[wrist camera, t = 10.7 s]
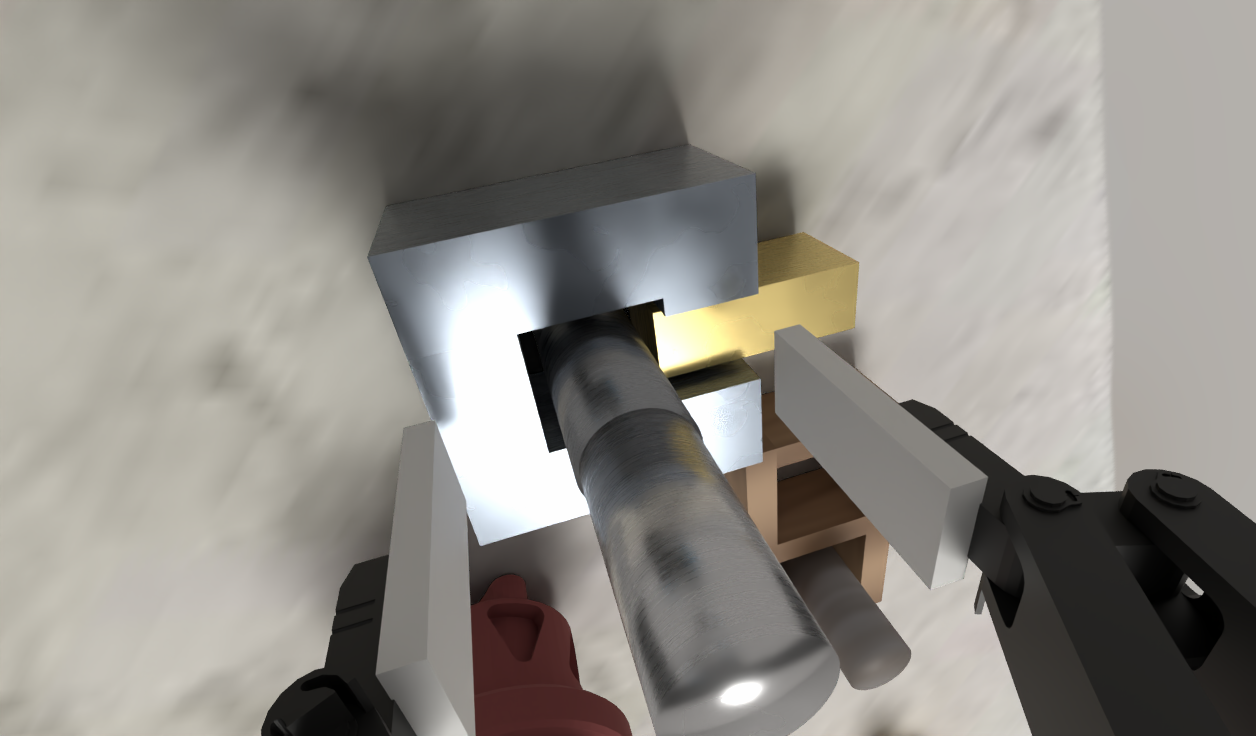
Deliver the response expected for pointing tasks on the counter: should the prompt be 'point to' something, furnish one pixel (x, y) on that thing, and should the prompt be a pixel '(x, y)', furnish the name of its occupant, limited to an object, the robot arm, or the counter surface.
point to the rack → (824, 552)
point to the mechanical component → (531, 671)
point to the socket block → (563, 310)
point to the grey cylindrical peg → (680, 546)
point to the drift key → (758, 308)
